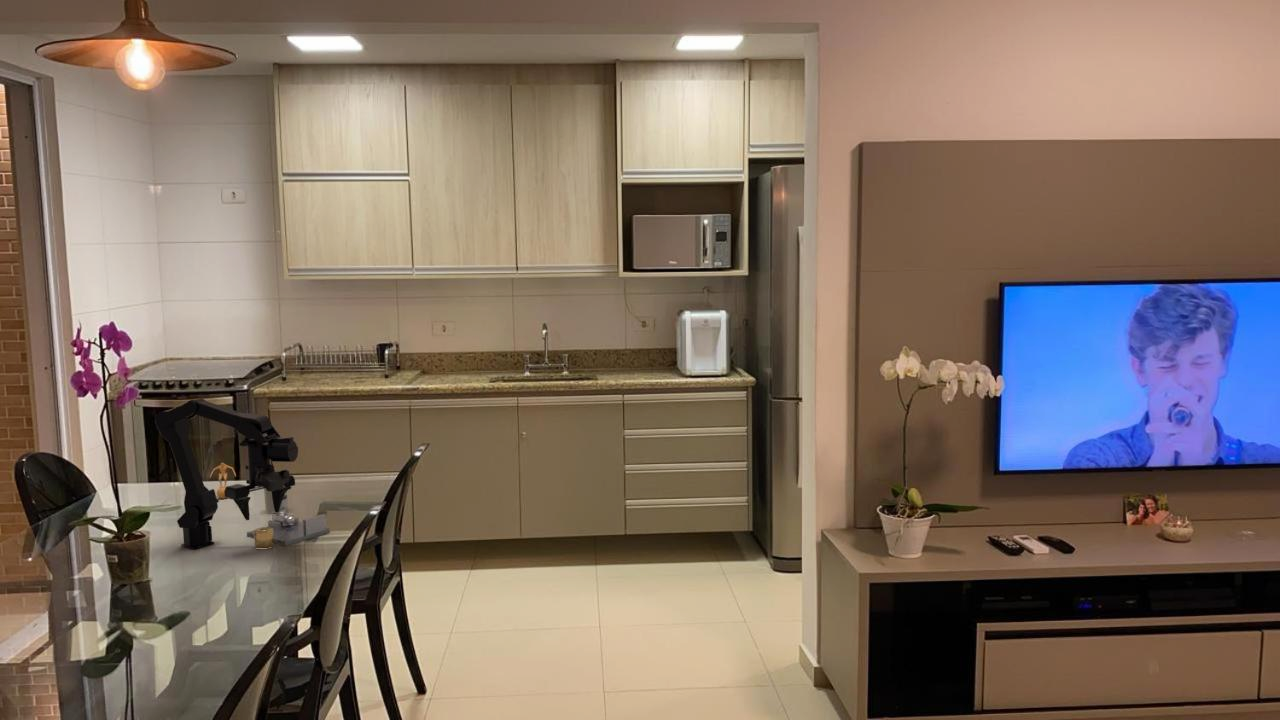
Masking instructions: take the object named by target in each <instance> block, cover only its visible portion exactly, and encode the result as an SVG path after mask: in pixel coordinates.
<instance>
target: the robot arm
mask: <svg viewBox="0 0 1280 720" xmlns="http://www.w3.org/2000/svg"><path fill="white" fill-rule="evenodd" d="M196 416H199V417H202V418H205V419H208V420H211V421H213V422H215V423H216V422H217V423H219V424H222V425H225V426H227V427H231V428H233V429H234V430H235V431H236V432H237V434H240V435H242V436H243V437H244V438H243V440H242V441H241V442H240V443H239V444H238V445H239V447H246V449H247V450H246V451H247V464H246V465H245V470H248V479H246V482H245V483H246V484H247V485H245V484H240V483H236V484H233V485H226V488H225V490H224V494H225V497H227V498H228V499H229V500H232V501H233V502H234V503H235V504H236V506H237V507H238V509H239V511H240V512H241V514H242V516H243V518H244V520H245V521H249V520H250V506H249V503H250V500H251V499H252V498H251V496H249V495H250V493H252V492H254V491H255V492H256V491H260V490H264V488H265V489H266V490H267V491H269V492H272V499H273V505H274V510H275V512H276V513H278V512H279V509H280V506H281V503H282V499H283V497H284V494H285V493H286V492H287V493H288V491H289V490H291V489H292V487H294V486H296V478H295V477H294V475H292V474H290V471H289V470H288V469H283V470H279V471H276V470H275V466H274V464H273V463H274V462H277V463H278V462H280V463H281V462H289V463H292V462H293V463H294V462H295V461H296V460H297V458H298V456H299V447H298V444H297V443H296V441H294V437H293V436H287V437H281V435H280V434H279V432H278V431H277V430H276V428H275V427H274V426H273V425H272V422H271V420H270V418H269V417H268V416H266V415H264V414H258V413H244V412H239V411H237V410H234V409H232V408H228V407H225V406H222V405H220V404H216V403H214V402H211V401H208V400H206V399H203V398H201V397H199V398H195V399H190V400H188V401H187V402H184V404H182V405H179V406H177V407H175V408H171V409H167V410H162V411H160V412H159V413H158V414H157V415H156V418H155V419H154V422H155V426H156V428H157V430H158V432H159V434H160V435H161V437H163V439H165V440H166V441H167V442H168V443H169V446H170V448H171V452H172V455H173V457H174V461H175V465H176V466H177V470H178V472H179V476H180V478H181V483H182V485H183V487H184V490H185V494H184V500H183V504H184V505H183V506H184V513H183V514H182V515H181V516H180V517H179V518H178V519H177V521H176V522H177V525H178V527H179V528H181V529H182V535H183V543H181V544H180V547H184V548H187V549H190V550H197V549H201V548H202V547H203V548H204V547H208V546H210V545H214V544H215V541H213V532H212V526H211V523H210V521H212V520H213V518H214V515H215V514H216V512H217V511H218V508H219V507H218V503H219V502H220V500H218V498H217V494H216V490H215V489H214V488H212V489H209V488H208V487H207V486H205V484H204V481H203V477H202V475H201V472H200V469H199V465H198V463H197V460H196V458H195V454H194V451H193V448H192V445H191V443H190V439H189V434H190V428H191V427H190V425H191V424H190V420H191V419H193V418H195V417H196ZM271 462H273V463H271ZM276 513H275V514H276Z"/></svg>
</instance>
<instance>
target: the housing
mask: <svg viewBox="0 0 1280 720" xmlns="http://www.w3.org/2000/svg"><path fill="white" fill-rule="evenodd" d="M253 540H254V548H255V547H256V548H269V547H272V548H274V547H275V543H274V534H273V528H272V527H268V526H263V527H258V528H255V529H254V538H253ZM273 546H274V547H273ZM269 549H270V548H269Z"/></svg>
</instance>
